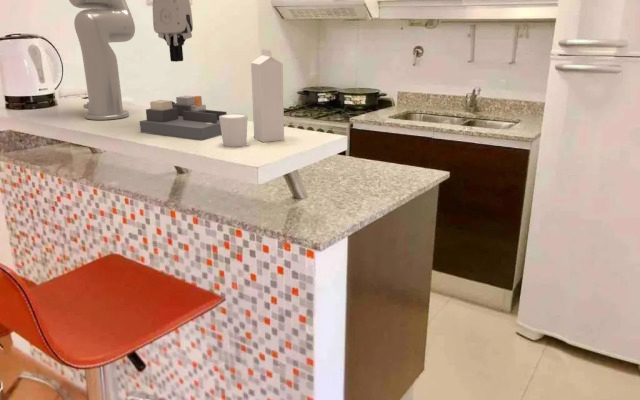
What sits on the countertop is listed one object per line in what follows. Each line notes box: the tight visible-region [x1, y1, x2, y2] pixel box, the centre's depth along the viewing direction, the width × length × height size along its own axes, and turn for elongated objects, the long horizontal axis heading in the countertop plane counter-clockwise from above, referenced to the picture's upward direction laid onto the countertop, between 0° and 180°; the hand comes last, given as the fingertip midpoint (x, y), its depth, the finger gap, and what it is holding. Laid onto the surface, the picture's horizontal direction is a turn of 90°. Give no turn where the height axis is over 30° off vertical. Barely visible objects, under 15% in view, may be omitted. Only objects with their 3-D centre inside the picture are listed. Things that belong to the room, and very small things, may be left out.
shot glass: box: [219, 113, 249, 148], centre depth 129 cm, size 7×7×7 cm
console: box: [139, 104, 228, 141], centre depth 146 cm, size 21×19×6 cm
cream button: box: [149, 99, 173, 111], centre depth 144 cm, size 4×4×4 cm
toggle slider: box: [191, 95, 207, 113], centre depth 144 cm, size 3×3×6 cm
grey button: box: [175, 95, 195, 106], centre depth 152 cm, size 4×4×4 cm
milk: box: [250, 48, 285, 143], centre depth 133 cm, size 6×6×22 cm
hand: (177, 61), depth 143 cm, fingers closed
